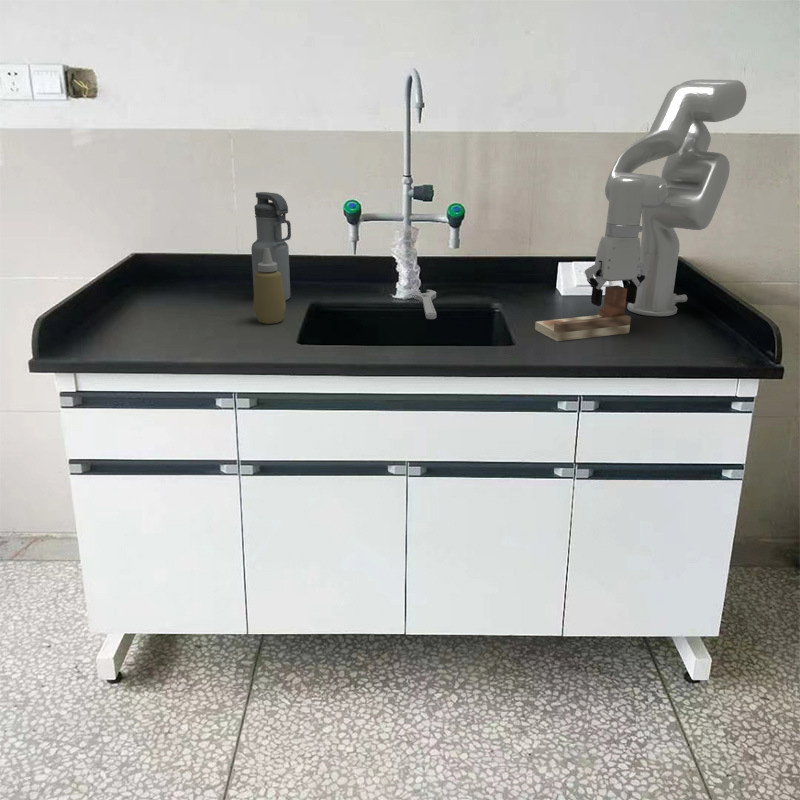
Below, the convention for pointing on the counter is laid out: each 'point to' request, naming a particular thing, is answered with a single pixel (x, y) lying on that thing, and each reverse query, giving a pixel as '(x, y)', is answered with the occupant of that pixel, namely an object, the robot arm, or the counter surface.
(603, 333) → the board
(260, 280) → the squeeze bottle
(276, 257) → the water bottle
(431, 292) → the adjustable wrench
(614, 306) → the brown wooden block
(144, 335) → the counter surface
